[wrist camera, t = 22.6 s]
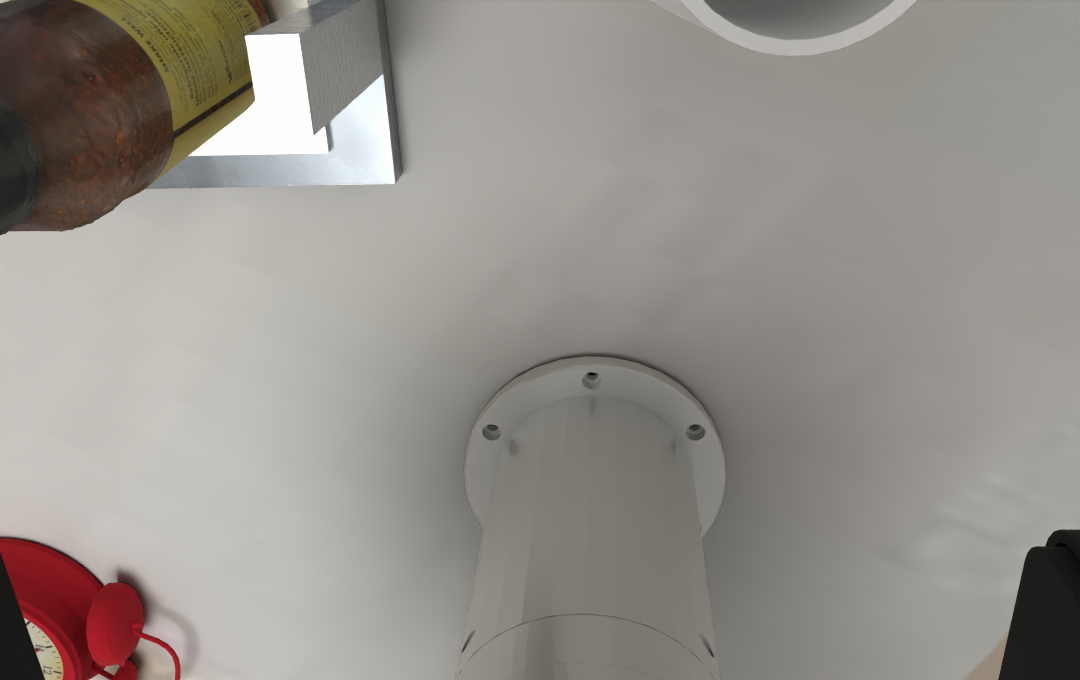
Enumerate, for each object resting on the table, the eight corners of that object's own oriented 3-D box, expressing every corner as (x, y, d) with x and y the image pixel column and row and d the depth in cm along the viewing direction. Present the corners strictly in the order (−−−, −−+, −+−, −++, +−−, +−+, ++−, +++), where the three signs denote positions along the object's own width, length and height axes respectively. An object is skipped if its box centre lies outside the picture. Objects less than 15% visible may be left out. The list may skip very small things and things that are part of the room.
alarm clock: (-131, 551, 49) (127, 673, 46) (-30, 488, 54) (204, 595, 52) (-124, 695, 53) (111, 813, 51) (-32, 623, 59) (183, 727, 57)
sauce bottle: (139, -74, 36) (-322, -16, 18) (300, -11, 37) (6, 104, 19) (112, 92, 39) (-310, 282, 21) (262, 148, 39) (-25, 378, 22)
